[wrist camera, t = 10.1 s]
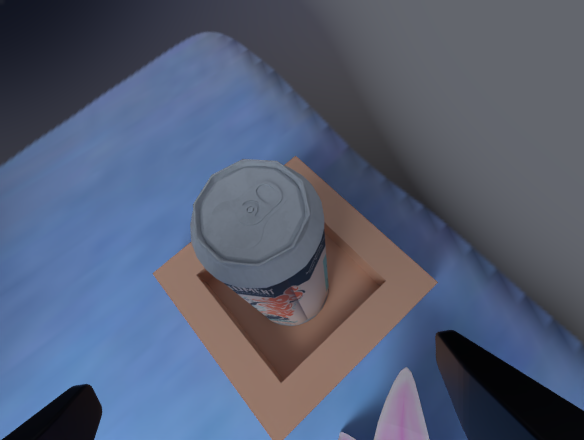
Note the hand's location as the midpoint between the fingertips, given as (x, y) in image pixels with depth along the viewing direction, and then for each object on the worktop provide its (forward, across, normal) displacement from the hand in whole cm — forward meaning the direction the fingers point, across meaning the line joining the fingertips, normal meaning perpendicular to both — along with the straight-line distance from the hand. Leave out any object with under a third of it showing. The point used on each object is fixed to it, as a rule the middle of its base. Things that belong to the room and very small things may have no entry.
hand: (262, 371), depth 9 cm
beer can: (+12, 0, +6) cm, 14 cm away
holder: (+13, 0, +6) cm, 14 cm away
